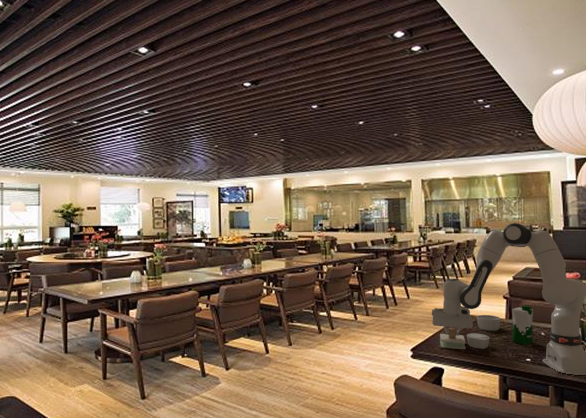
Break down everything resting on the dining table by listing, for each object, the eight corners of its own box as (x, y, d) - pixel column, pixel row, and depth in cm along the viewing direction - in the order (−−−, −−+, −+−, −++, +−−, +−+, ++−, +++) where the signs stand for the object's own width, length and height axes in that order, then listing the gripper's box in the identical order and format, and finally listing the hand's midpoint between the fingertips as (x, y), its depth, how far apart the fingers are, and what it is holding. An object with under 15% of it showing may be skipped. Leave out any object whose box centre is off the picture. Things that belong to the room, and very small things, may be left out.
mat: (465, 349, 217) (465, 348, 217) (441, 347, 221) (441, 346, 221) (463, 341, 230) (463, 341, 230) (439, 340, 233) (439, 339, 233)
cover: (465, 343, 218) (465, 333, 218) (440, 341, 222) (440, 331, 222) (463, 336, 230) (463, 327, 230) (439, 335, 233) (439, 325, 233)
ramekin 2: (486, 351, 215) (485, 340, 215) (463, 346, 222) (463, 336, 222) (492, 345, 223) (492, 335, 224) (470, 341, 231) (470, 332, 231)
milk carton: (527, 346, 222) (526, 308, 223) (510, 341, 230) (509, 305, 230) (535, 343, 227) (534, 306, 228) (518, 339, 235) (517, 303, 235)
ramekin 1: (472, 327, 259) (471, 316, 259) (486, 324, 265) (486, 313, 265) (490, 332, 247) (490, 321, 247) (505, 329, 253) (505, 318, 253)
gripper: (431, 309, 225) (432, 335, 225) (473, 311, 220) (473, 338, 220) (431, 306, 232) (431, 331, 231) (471, 308, 226) (471, 334, 226)
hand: (452, 334), depth 226 cm, fingers closed on cover, 4 cm apart
